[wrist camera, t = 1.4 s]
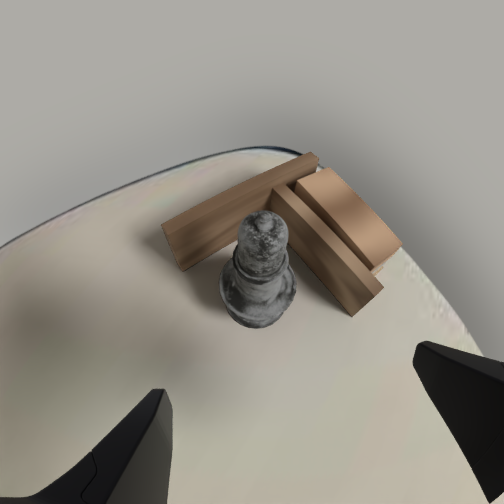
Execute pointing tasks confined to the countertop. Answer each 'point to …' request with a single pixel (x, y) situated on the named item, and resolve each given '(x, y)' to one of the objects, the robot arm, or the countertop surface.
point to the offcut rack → (298, 223)
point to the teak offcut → (348, 217)
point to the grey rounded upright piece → (258, 272)
